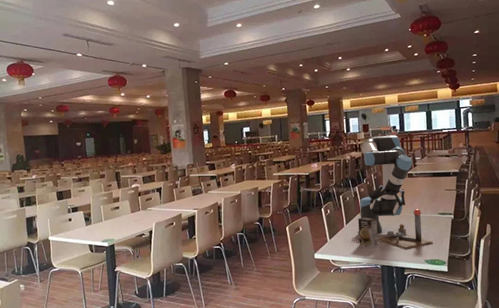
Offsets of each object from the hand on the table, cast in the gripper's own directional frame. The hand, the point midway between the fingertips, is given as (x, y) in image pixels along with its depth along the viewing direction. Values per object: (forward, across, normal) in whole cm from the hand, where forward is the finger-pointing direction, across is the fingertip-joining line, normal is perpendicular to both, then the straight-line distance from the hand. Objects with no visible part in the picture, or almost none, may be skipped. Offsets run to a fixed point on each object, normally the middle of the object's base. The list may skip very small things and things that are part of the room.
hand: (382, 210), depth 238 cm
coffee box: (+25, 0, -4) cm, 26 cm away
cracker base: (+21, +21, +1) cm, 30 cm away
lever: (+20, +21, +3) cm, 29 cm away
